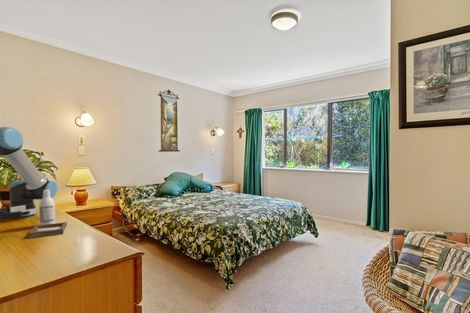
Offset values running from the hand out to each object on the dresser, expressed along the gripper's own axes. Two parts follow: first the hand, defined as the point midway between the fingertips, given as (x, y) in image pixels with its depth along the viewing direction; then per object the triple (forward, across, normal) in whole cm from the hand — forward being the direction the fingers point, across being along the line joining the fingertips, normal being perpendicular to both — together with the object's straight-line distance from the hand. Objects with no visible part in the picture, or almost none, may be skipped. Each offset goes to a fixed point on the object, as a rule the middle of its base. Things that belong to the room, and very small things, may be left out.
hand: (30, 209), depth 134 cm
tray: (+3, +13, -11) cm, 17 cm away
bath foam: (+8, 0, -11) cm, 14 cm away
